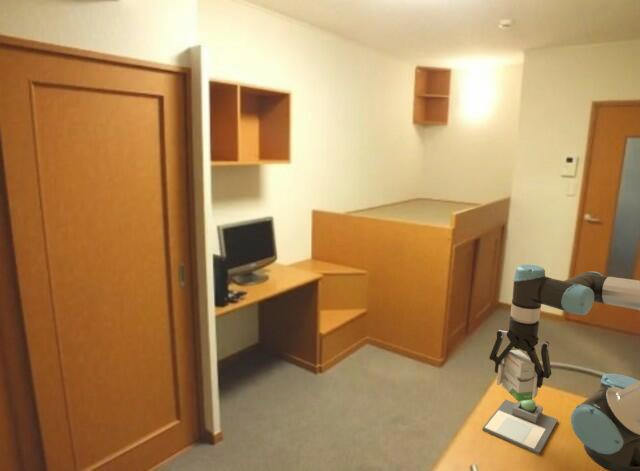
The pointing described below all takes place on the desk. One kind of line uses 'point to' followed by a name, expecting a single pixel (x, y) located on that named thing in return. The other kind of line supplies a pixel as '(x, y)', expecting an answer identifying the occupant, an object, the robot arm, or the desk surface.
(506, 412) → the colouring board
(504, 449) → the desk surface
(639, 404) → the robot arm
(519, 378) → the ink box
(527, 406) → the button
